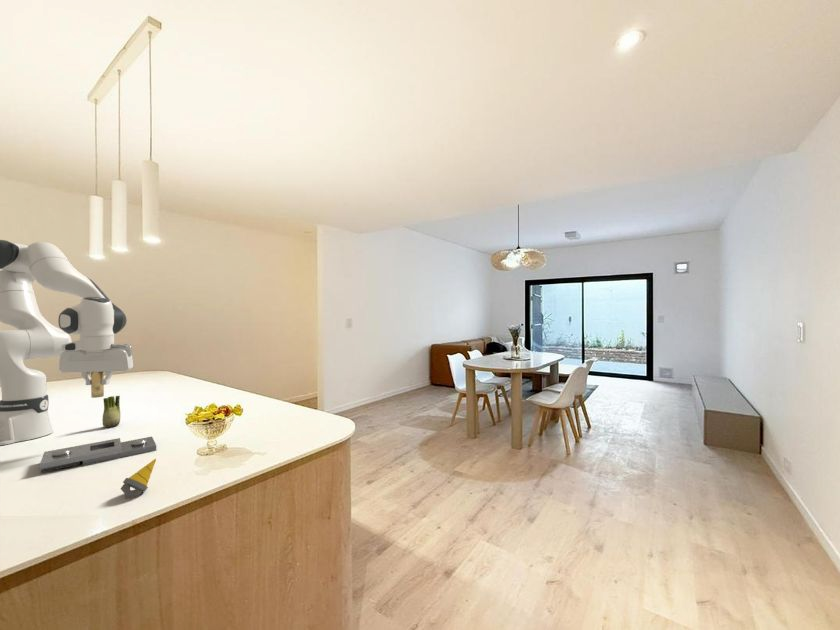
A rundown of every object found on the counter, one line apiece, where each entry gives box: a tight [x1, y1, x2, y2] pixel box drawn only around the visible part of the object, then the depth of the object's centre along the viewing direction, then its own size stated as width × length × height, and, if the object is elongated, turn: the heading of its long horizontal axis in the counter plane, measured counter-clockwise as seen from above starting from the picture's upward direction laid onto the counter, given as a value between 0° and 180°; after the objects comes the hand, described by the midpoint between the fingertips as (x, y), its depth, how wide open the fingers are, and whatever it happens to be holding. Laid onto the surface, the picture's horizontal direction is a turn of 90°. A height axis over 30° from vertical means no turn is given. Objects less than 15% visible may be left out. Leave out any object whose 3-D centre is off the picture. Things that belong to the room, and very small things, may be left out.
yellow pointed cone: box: [120, 458, 157, 500], centre depth 89 cm, size 5×5×10 cm
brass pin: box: [90, 371, 105, 399], centre depth 124 cm, size 3×3×10 cm
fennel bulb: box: [102, 395, 121, 428], centre depth 142 cm, size 6×5×12 cm
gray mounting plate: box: [39, 436, 157, 473], centre depth 112 cm, size 26×12×4 cm, turn 132°
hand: (97, 384), depth 124 cm, fingers closed on brass pin, 3 cm apart
